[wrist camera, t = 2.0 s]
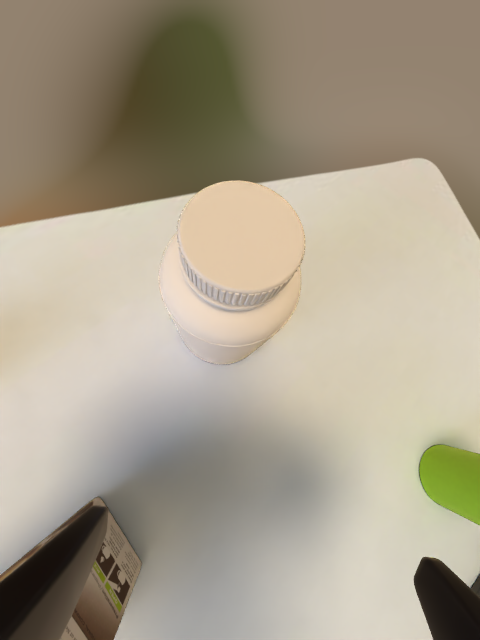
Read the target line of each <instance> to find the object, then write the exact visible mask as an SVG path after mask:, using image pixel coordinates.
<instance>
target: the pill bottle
mask: <svg viewBox="0 0 480 640" xmlns="http://www.w3.org/2000/svg"><path fill="white" fill-rule="evenodd" d="M179 219H180V220H178V225H177V232H176V234H175V235H174V236H173V237H172V239H171V240H170V242H169V243H168V245H167V247H166V249H165V251H164V253H163V256H162V260H161V263H160V268H159V287H160V292H161V296H162V299H163V302H164V304H165V307H166V309H167V311H168V313H169V315H170V317H171V318H172V320H173V322H174V324H175V326H176V328H177V330H178V332H179V334H180V335H181V337H182V339H183V341H184V343H185V345H186V346H187V347H188V349H189V350H190V351H191V352H192V353H193V354H194V355H196V356H197V357H198V358H200V359H202V360H204V361H206V362H209V363H213V364H231V363H235V362H238V361H240V360H242V359H244V358H246V357H247V356H249V355H250V354H251V353H252V352H254V351H255V350H256V349H257V348H258V347H260V346H261V345H262V344H263V343H265V342H266V341H267V340H268V339H270V338H271V337H272V336H273V335H274V334H276V333H277V332H278V331H279V330H280V329H281V328H282V327H283V326H284V325H285V324H286V323H287V321H288V320H289V319H290V317H291V316H292V314H293V312H294V310H295V308H296V306H297V303H298V300H299V296H300V290H301V271H300V265H301V263H302V262H301V261H302V260H303V255H304V253H305V251H304V250H305V235H304V230H303V227H302V224H301V222H300V219H299V217H298V215H297V214H296V212H295V211H294V209H293V208H292V207H291V205H290V204H289V203H288V202H287V201H286V200H285V199H284V198H282V197H281V196H280V195H279V194H277V193H276V192H274V191H272V190H271V189H269V188H267V187H264V186H262V185H259V184H256V183H252V182H247V181H225V182H220V183H216V184H214V185H211V186H208V187H206V188H204V189H203V190H201V191H200V192H198V193H197V194H196V195H195V196H193V197H192V198H191V200H189V202H188V203H187V204H186V205H185V207H184V209H183V210H182V214H180V217H179Z"/></svg>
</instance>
